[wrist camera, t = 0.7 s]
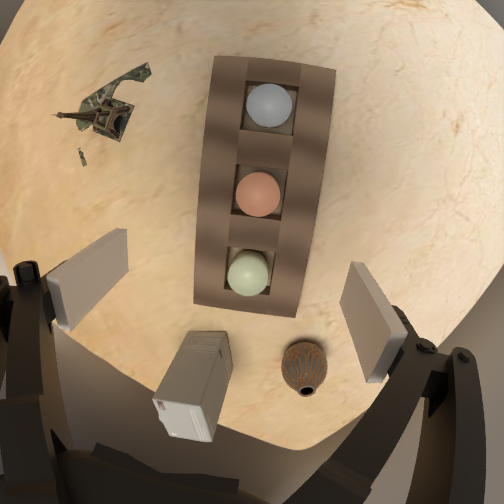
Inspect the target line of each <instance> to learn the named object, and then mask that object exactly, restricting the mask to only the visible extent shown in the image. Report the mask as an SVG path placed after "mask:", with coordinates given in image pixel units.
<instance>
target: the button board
mask: <svg viewBox="0 0 504 504" xmlns="http://www.w3.org/2000/svg"><path fill="white" fill-rule="evenodd" d="M335 77H336V70H333V69H329V68H324V67H319V66H313V65H307V64H301V63H295V62H288V61H280V60H272V59H262V58H250V57H234V56H214V63H213V69H212V76H211V83H210V90H209V98H208V106H207V114H206V122H205V131H204V140H203V150H202V161H201V172H200V183H199V196H198V210H197V226H196V244H195V267H194V301H193V304H198V305H204V306H210V307H217V308H223V309H230V310H237V311H244V312H251V313H259V314H266V315H274V316H283V317H291V318H295V317H296V312H297V308H298V303H299V299H300V294H301V290H302V285H303V281H304V276H305V271H306V266H307V261H308V256H309V251H310V246H311V241H312V236H313V231H314V225H315V220H316V214H317V208H318V203H319V197H320V191H321V185H322V178H323V172H324V165H325V159H326V152H327V145H328V137H329V130H330V122H331V114H332V105H333V96H334V87H335ZM263 84H275V85H278V86H280V87H282V88H283V89H289V90H295V91H297V98H296V106H295V114H294V122H293V130H292V136H289V135H282V134H275V133H267V132H258V131H249V130H242V126H243V118H244V110H245V102H246V94H247V87H248V85H255V86H260V85H263ZM238 164H243V165H251V166H260V167H267V168H275V169H282V170H287V175H286V182H285V189H284V196H283V203H282V210H281V216H277V215H270V214H268V215H266V216H262V217H255V216H251V215H248V214H246V213H245V212H244V211H239V210H233V207H234V197H235V188H236V178H237V169H238ZM230 246H231V247H238V248H245V249H253V250H260V251H268V252H275V256H274V262H273V269H272V275H271V281H270V287H269V286H266V287H265V289H264V290H263V291H262V292H260V293H259V294H257V295H254V296H243V295H240V294H238V293H236V292H235V291H234V290H233V289H232V288H231V287H230V285H229V283H228V281H226V280H227V269H228V258H229V247H230Z"/></svg>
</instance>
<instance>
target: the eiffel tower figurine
mask: <svg viewBox="0 0 504 504" xmlns="http://www.w3.org/2000/svg"><path fill="white" fill-rule="evenodd" d="M151 74H152V73H151V71H150V68H149V65H148V62H147V63H145V64H143V65H141V66H139V67H137V68H135V69H133V70H131V71H130V72H128V73H126V74H124V75H122V76H121V77H119V78H117V79H115V80H114V81H112V82H110V83H109V84H107V85H106V86H104V87H102V88H101V89H99V90H98V91H96V92H95V93H93V94H91V95H90V96H88V97H87V98H86V99H84V100H83V101H82V102H81V105H80V108H79V112H78V113H61V112H59V113H58V114H57V115H56V116H57V117H58V118H72V119H76V125H77V126H78V129H79V130H80V131H83V130H85V129H87V128H89V126H90V125H93V131H94V132H96V133H99V134H101V135H104V136H106V137H109V138H111V139H113V140H116V141H118V142H120V141H121V138H122V135H123V133H124V130H125V128H126V125H127V123H128V120H129V118H130V116H131V113H132V111H133V109H134V105H131V104H128V103H125V102H122V101H119V100H116V99H113V98H112V96H113V93H114V91H115V89H116V87H117V86H118V85H119V83H120V82H121V81H122V80H134V81H139V82H144V81H145V80H146V78H148V77H149V76H150V75H151ZM78 151H79V155H80V158H81V161H82V164H83V167H84V166H86V165H87V164H86V160H85V158H84V156H83V152H81V151H80V148H78Z"/></svg>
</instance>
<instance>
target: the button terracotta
mask: <svg viewBox="0 0 504 504" xmlns="http://www.w3.org/2000/svg"><path fill="white" fill-rule="evenodd" d="M236 200H237V203H238V205H239V207H240V208H241V209H242V211H244V212H245V213H246V214H248V215H251V216H255V217H262V216H266V215H268V214H270V213H271V212H273V211H274V210H275V209H276V207H277V206H278V204H279V201H280V189H279V185H278V182H277V181H276V179H275V178H274V177H273V176H272V175H270V174H269V173H266V172H263V171H255V172H252V173H250V174H248V175H246V176H245V177H244V178H243V179H242V180H241V181H240V183H239V184H238V186H237V189H236Z"/></svg>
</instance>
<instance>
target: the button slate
mask: <svg viewBox="0 0 504 504" xmlns="http://www.w3.org/2000/svg"><path fill="white" fill-rule="evenodd" d="M246 108H247V111H248V114H249V116H250V117H251V118H252V120H253V121H254V122H255V123H256V124H258V125H259V126H261V127H265V128H275V127H278V126H280V125H282V124H283V123H285V121H286V120H287V119H288V117H289V115H290V113H291V110H292V100H291V97H290V95H289V94H288V92H287V91H286V90H285V89H283V88H282V87H280V86H278V85H275V84H263V85H260V86H258V87H256V88H255V89H253V90H252V91H251V92H250V94H249V96H248V98H247V102H246Z"/></svg>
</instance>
